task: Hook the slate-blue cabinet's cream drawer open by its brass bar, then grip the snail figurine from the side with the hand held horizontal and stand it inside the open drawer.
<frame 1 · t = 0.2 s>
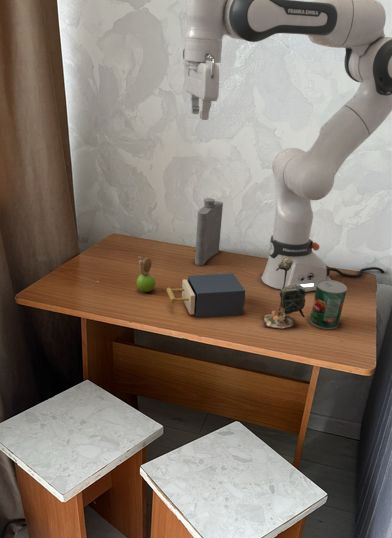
hand: (199, 116, 126), 48 cm above the table, tool pointing down, fingers open, 8 cm apart
cabinet: (214, 306, 141), on the table
hip flask: (205, 257, 172), on the table
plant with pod: (282, 324, 135), on the table
canned tomato: (323, 322, 137), on the table
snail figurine: (145, 292, 147), on the table
drawer: (199, 295, 138), point 4 cm above the table, slide at 0.5 cm
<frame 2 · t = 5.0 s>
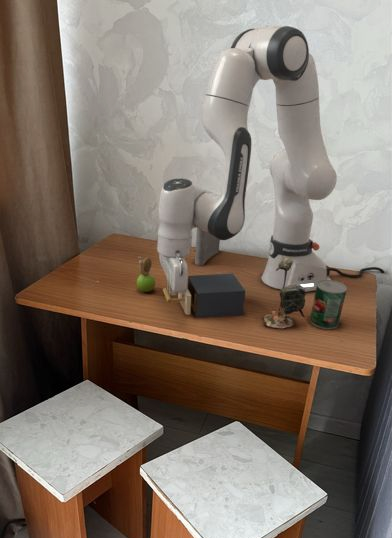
hand: (171, 293, 136), 5 cm above the table, tool pointing down, fingers closed, pressing on drawer
drawer: (195, 296, 138), point 4 cm above the table, slide at 1.6 cm, touching gripper
everything else where it was.
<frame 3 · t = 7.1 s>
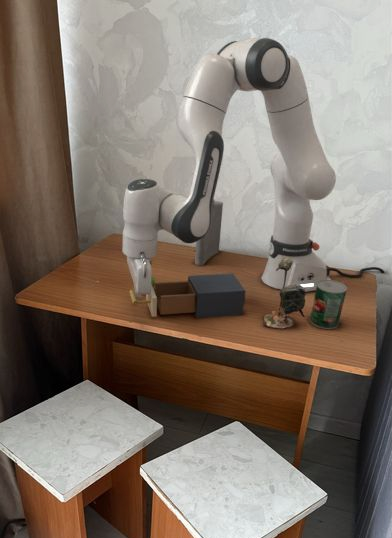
hand: (138, 295, 134), 5 cm above the table, tool pointing down, fingers closed, pressing on drawer
drawer: (162, 298, 136), point 4 cm above the table, slide at 10.9 cm, touching gripper
everything else where it was.
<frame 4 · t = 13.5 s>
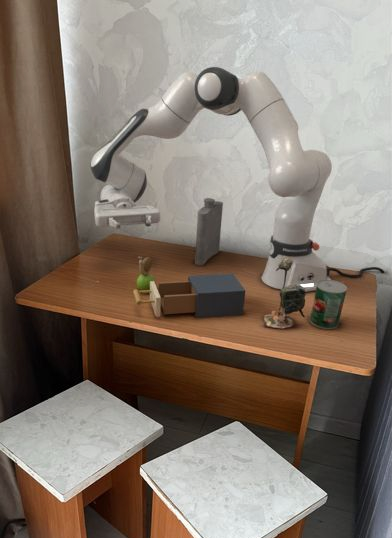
hand: (133, 225, 147), 16 cm above the table, tool horizontal, fingers open, 8 cm apart
drawer: (166, 297, 136), point 4 cm above the table, slide at 9.8 cm
everything else where it was.
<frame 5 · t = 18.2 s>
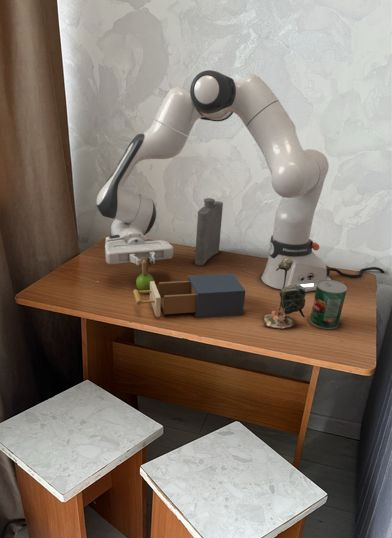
hand: (146, 262, 141), 10 cm above the table, tool horizontal, fingers closed on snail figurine, 2 cm apart
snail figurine: (145, 292, 147), on the table, touching gripper
everything else where it was.
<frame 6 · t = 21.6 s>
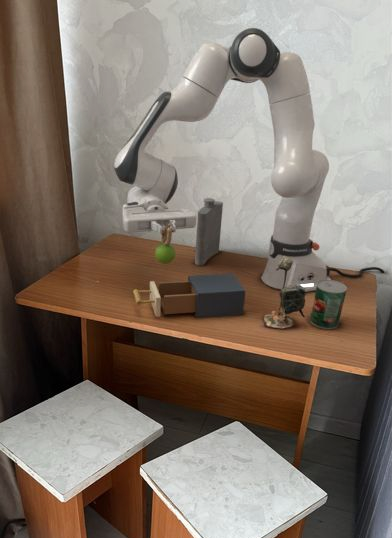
hand: (167, 230, 129), 22 cm above the table, tool horizontal, fingers closed on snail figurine
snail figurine: (165, 264, 135), point 12 cm above the table, touching gripper
everything else where it was.
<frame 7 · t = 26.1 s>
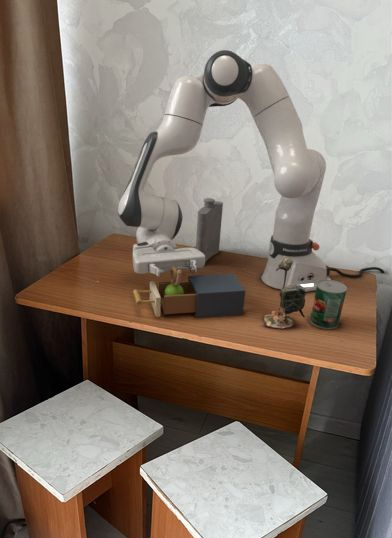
hand: (177, 272, 132), 12 cm above the table, tool horizontal, fingers open, 8 cm apart
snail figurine: (174, 303, 138), point 2 cm above the table, touching drawer
drawer: (166, 297, 136), point 4 cm above the table, slide at 9.8 cm, touching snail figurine
everything else where it was.
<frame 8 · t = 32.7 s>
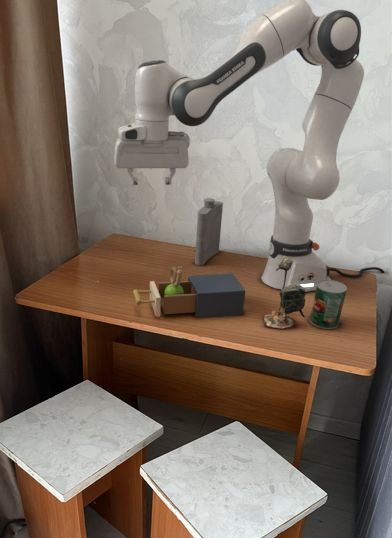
hand: (151, 184, 139), 29 cm above the table, tool pointing down, fingers open, 8 cm apart
nothing on the table moved.
at the end: drawer slide at 9.8 cm; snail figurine inside the target area in the drawer (0.3 cm from its centre), point 1.7 cm above the cabinet's base; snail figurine tilted 0° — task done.
